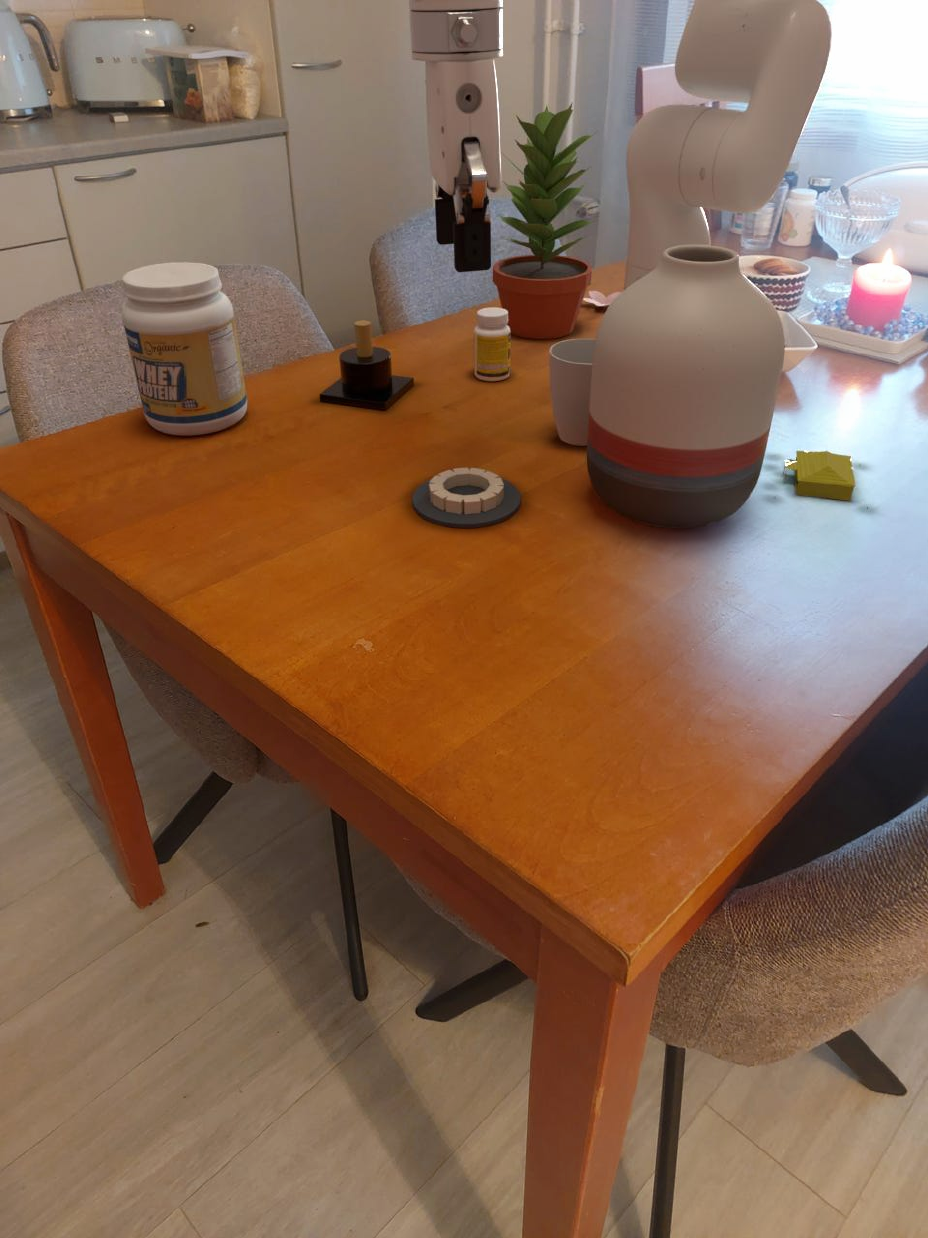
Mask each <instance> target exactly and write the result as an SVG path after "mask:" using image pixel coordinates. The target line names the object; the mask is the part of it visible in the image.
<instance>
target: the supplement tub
mask: <svg viewBox="0 0 928 1238" xmlns="http://www.w3.org/2000/svg"><path fill="white" fill-rule="evenodd" d="M122 284H123V295H124V296H125V297H126V298H127V301H126V302H125V303H124V305H123V307H122V311H121V317H122V318H121V319H122V323H123V328H124V331H125V336H126V341H127V346H128V350H129V354H130V359H131V362H132V367H133V372H134V375H135V381H136V384H137V388H138V394H139V397H140V402H141V407H142V411H143V412H142V413H143V415H144V417H145V420H146V421H147V423H148V424H149V425H150V426H151V428H153V429H155V430H157V431H159V432H160V433H163V434H168V435H171V436H182V437H183V436H187V437H188V436H190V437H191V436H202V435H208V434H212V433H215V432H220V431H222V430H225V429H227V428H229V427H231V426H233V425H236V424H237V423H238V422H240V421H241V420H242V418H243V417H244V416H245V415H246V412H247V409H248V398H247V391H246V384H245V380H244V378H245V377H244V372H243V371H244V370H243V365H242V359H241V353H240V352H241V351H240V345H239V340H238V332H237V326H236V321H235V314H234V309H233V308H234V307H233V304H232V302H231V300H230V299H229V297H228V296H227V294H225V293H224V292H223V291H221V289H222V287H223V284H222V281H221V278H220V273H219V269H218V268H217V267H216V266H213V265H209V264H206V263H201V262H185V261H183V262H163V263H155V264H149V265H144V266H141V267H138V268H135V269H132V270H130V271H127V272H126V273H125V274H124V275H123V276H122Z"/></svg>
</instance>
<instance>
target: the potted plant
mask: <svg viewBox="0 0 928 1238" xmlns="http://www.w3.org/2000/svg"><path fill="white" fill-rule="evenodd" d="M573 103H574V102H571V103H570V105H569V106H568V108H566V109H564V110H561V111H558V112H557V113H553V112H551V111H549V107H548V105H546V106H545V109H544V111H542V112H539V113H537V114H536V115H535V118H534V123H531V122H527V121H523V120H522V119H521V118H520V117H519V116H518V115H517V114H516V115H515V116H516V118H517V120H518V123H519V126H521V128H522V130H523V131H524V133H525V134H526V136H527V140H526V142H527V143H525V144H522V143H520V142H519V141H518V140H516V139H514V141H515V143H516V145H517V146H518V148H519V149H520V150H521V151H522V152H523V154H524V156H525V160H526V163H527V164H525V166H524V168H523V171H522V170H521V169H520V168H519V167H518V166H517V165H516V164H515V163H513V162H512V161H511V160H510V159H509V158H508V157H507V156H506V155H505V154H504V153H503V152H502V151H500V154H502V155H503V156H504V157H505V158H506V159H507V160H508V161H509V162H510V163H511V164H512V165H513V166H514V167H515V168H516V169H517V170H518V171H519V172H520V173H521V174H522V175H523V181H524V182H522V181H521V180H520V179H519V180H518V181H519V182H518V184H519V185H520V186H518V185H511V184H508V183H506V182H505V181H504V180H502V182H503V183H504V185H505V187H506V189H507V190H508V191H509V192H510V194H511V196H512V197H511V199H510V201H511V202H512V203H513V205H514V206H515V208H516V209H517V211H518V212H519V213H520V214H521V216H522V217H523V219H524V220H525V221H523V220H521V219H519V218H516V217H513V216H502V215H500V214H496V215H497V216H498V217H499V218H500V221H502V222H504V223H505V224H507V226H510V227H511V228H513V229H514V230H516V231H517V232H519V233H521V234H522V235H524V236H525V237H527V238H528V242H527V241H520V240H517V239H513V238H507V239H504V240H506V241H508V242H511V243H514V244H517V245H520V246H522V247H524V248H528V249H530V251H531V253H532V254H523V255H515V256H510V257H507V258H503V259H500V260H498V261H496V262H495V263H494V264H493V266H492V283H493V284H494V285H495V286H496V288H497V293H498V298H499V302H500V306H501V308H503V309H505V310H507V311H508V323H507V324H506V325H508V326H509V328H510V331H511V334H512V335H514V336H517V337H520V338H524V339H533V340H551V339H558V338H563V337H566V336H568V335H570V334H571V333H572V332H574V329H575V326H576V323H577V320H578V317H579V313H580V311H581V308H582V304H583V301H584V300H583V298H585V294H586V291H587V288H588V287H590V286H591V285H592V278H593V277H592V276H593V265H592V264H591V263H590V262H588V261H586V260H583V259H581V258H577V257H572V256H567V255H561V254H562V253H564V252H565V251H567V250H568V249H570V248H571V247H572V246H574V245H576V244H577V243H579V242H580V241H582V240H583V239H585V238H586V237H587V235H585V236H583V237H579V238H578V239H575V240H573V241H570V242H568V243H565V244H563V245H561V246H559V247H558V248H556V249H554V248H555V245H556V240H558V239H560V238H562V237H565V236H567V235H568V234H571V233H573V232H575V231H577V230H580V229H581V228H584V227H587V226H588V225H590V224H593V223H594V222H596V221H597V219H595V220H593V221H588V220H585V219H580V220H575V221H573V222H570V223H567V224H565V225H563V226H561V227H559V228H557V229H556V230H555V227H554V225H553V224H552V222H553V221H554V220H555V218H556V217H557V216H559V215H560V213H561V212H562V211H563V210H565V208H566V207H567V206H568V205H569V204H570V203H571V202H572V201H573V200H574V199H575V198H576V197H577V196H578V195H579V193H580V192H582V190H583V188H584V186H585V185H586V184H587V183H586V182H585V183H584V184H582V185H580V187H569V186H571V185H572V184H573V183H574V182H575V181H576V180H577V179H579V178H580V177H581V176H582V175H584V174H585V173H586V172H587V171H588V170H589V169H590V168H591V166H589V167H588V168H586V169H580V170H578V171H576V172H574V173H571V174H569V173H570V172H571V171H572V169H573V168H574V167H575V165H576V164H577V163H578V158H579V156H577V155H578V153H577V149H578V148H580V147H581V146H582V145H583V144H584V143H586V142H588V140H589V139H591V138H592V137H593V136H594V135H595V134H596V133H598V132H599V131H598V130H597V131H596V132H594V133H592V135H583V136H580V137H578V138H577V139H576V140H575V141H573V142H572V143H570V144H569V145H568V146H566V147H565V148H564V149H563V150H562V151H559V152H557V147H558V145H559V143H560V141H561V139H562V136H563V135H564V132H565V130H566V129H567V125H568V123H569V121H570V119H571V116H572V114H573V112H574V110H573ZM556 152H557V153H556ZM568 187H569V188H568Z"/></svg>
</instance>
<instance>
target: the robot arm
mask: <svg viewBox="0 0 928 1238" xmlns="http://www.w3.org/2000/svg"><path fill="white" fill-rule="evenodd" d="M503 2H504V1H503V0H408V9H409V12H408V14H409V28H410V29H409V30H410V31H409V32H410V47H411V49H410V50H411V59H412V60H414V61H420V62H424V64H425V65H424V66H425V81H424V82H425V102H426V104H425V106H426V107H425V108H426V128H427V129H426V131H427V144H428V158H429V159H428V160H429V167H430V168H429V169H430V172H431V176H432V178H433V180H434V181H435V184H434V185H435V187H434V188H435V189H434V190H435V192H434V193H435V198H434V213H435V237H436V238H435V239H436V242H437V244H438V245H441V246H443V245H453V262H454V264H453V265H454V267H453V268H454V269H455V271H456V272H457V273H469V272H481V271H482V272H483V271H488V270H490V269H491V268H492V222H491V210H490V209H491V208H490V198H489V195H488V191H490V192H491V193H497V192H498V191H499V190H501V187H502V162H501V161H502V157H501V136H500V135H501V134H500V133H501V132H500V131H501V130H500V111H499V95H498V83H497V73H496V66H495V59H498V58H502V57H504V45H503V44H504V33H503V32H504V8H503V7H504V5H503ZM832 31H833V30H832V23H831V18H830V15H829V13H828V11H827V9H826V7H825V6H824V5H823V4H822V3H821V2H820V1H818V0H694V1H693V4H692V7H691V10H690V12H689V15H688V18H687V21H686V24H685V26H684V29H683V31H682V35H681V38H680V41H679V44H678V47H677V51H676V57H675V61H674V74H675V75H674V76H675V79H676V82H677V84H678V86H679V87H680V88H681V89H682V90H683V91H684V92H685V93H687V94H689V95H691V96H693V97H695V98H696V97H697V98H699V99H705V100H712V101H718V102H719V101H721V102H729V103H730V102H731V103H741V104H742V103H743V104H747V107H746V109H745V110H743V109H742V110H740V109H732V108H731V109H730V108H729V109H728V108H719V107H716V106H705V105H704V106H703V105H694V104H668V105H667V104H666V105H663V106H659V107H656V108H654V109H652V110H650V111H648V112H647V113H645V114H644V115H643V116H642V117H641V118H640V119H639V120H638V121H637V122H636V124H635V125H634V127H633V129H632V131H631V133H630V136H629V138H628V143H627V146H626V157H625V158H626V159H625V161H626V162H625V165H626V166H625V167H626V178H627V179H626V180H627V189H628V205H629V207H628V208H629V210H628V211H629V218H628V219H629V220H628V221H629V222H628V236H627V237H628V239H627V241H628V242H627V251H626V261H625V270H624V271H625V272H624V281H623V291H624V290H625V289H626V288H628V287H629V286H630V285H632V284H633V283H635V282H636V281H638V280H639V279H641V278H642V277H644V276H646V275H647V274H649V273H650V272H651V271H653V270H654V269H655V268H657V267H658V265H659V263H660V261H661V258H662V254H663V252H664V251H665V250H666V249H668V248H670V247H674V246H680V245H711V246H712V244H711V243H712V241H711V233H710V228H709V224H708V222H707V218H706V214H705V211H704V209H709V210H714V211H721V212H727V213H733V214H749V213H750V214H752V213H755V212H757V211H759V210H761V209H763V208H764V207H765V206H767V204H768V203H770V201H771V200H772V198H774V196H775V194H776V193H777V191H778V189H779V187H780V185H781V183H782V182H783V179H784V177H785V175H786V172H787V170H788V168H789V165H790V163H791V160H792V158H793V156H794V153H795V151H796V148H797V145H798V143H799V140H800V139H801V136H802V133H803V132H804V129H805V126H806V124H807V122H808V118H809V116H810V114H811V111H812V109H813V106H814V104H815V102H816V99H817V97H818V94H819V93H820V88H821V86H822V84H823V81H824V77H825V75H826V72H827V68H828V65H829V61H830V54H831V49H832V37H833V35H832V34H833V32H832Z"/></svg>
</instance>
